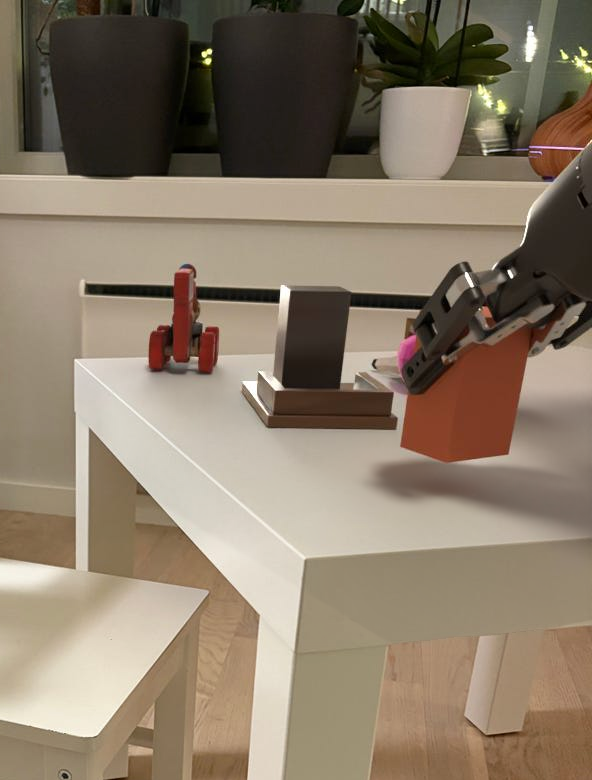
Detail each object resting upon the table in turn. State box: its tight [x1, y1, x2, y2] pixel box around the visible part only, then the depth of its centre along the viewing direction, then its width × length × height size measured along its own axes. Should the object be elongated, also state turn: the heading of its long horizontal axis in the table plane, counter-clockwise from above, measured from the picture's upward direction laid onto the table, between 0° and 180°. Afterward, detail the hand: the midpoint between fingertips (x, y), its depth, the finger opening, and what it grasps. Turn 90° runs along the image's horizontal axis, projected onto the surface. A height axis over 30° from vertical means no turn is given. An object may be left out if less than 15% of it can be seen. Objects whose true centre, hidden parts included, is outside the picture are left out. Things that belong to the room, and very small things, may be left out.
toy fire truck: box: [147, 263, 220, 373], centre depth 105 cm, size 7×12×10 cm, turn 170°
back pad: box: [399, 305, 533, 464], centre depth 64 cm, size 4×6×9 cm
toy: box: [370, 317, 416, 384], centre depth 99 cm, size 7×10×15 cm
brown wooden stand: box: [241, 284, 399, 430], centre depth 87 cm, size 15×11×10 cm
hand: (445, 379), depth 65 cm, fingers closed on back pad, 5 cm apart
